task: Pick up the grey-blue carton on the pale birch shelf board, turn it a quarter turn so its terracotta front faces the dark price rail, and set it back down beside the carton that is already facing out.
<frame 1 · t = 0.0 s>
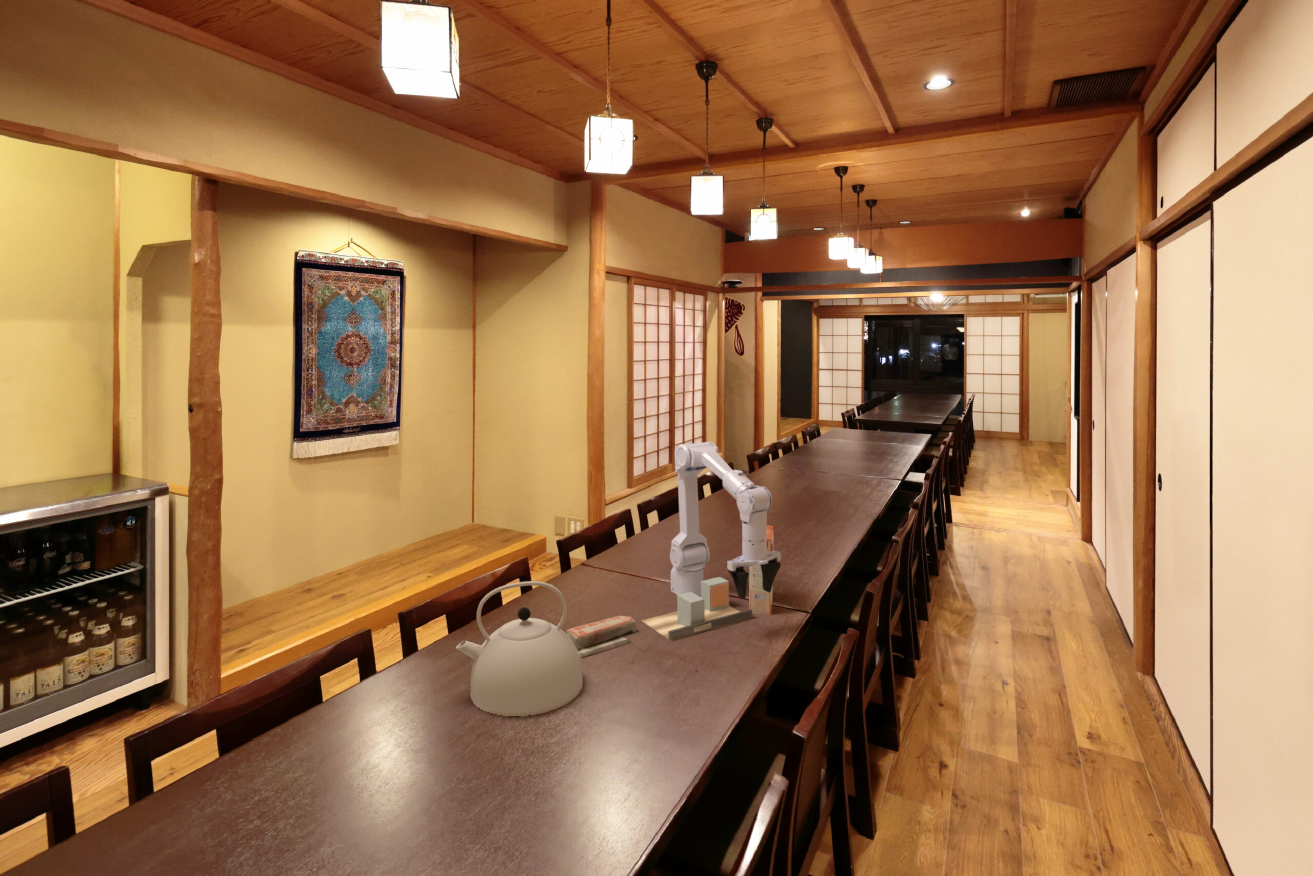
hand: (754, 594, 160), 10 cm above the table, tool pointing down, fingers open, 7 cm apart
faced carton: (728, 614, 171), point 1 cm above the table, touching shelf board
shelf board: (696, 623, 168), on the table
cracker box: (761, 608, 178), on the table
turn carton: (711, 619, 168), point 1 cm above the table, touching shelf board
packaged product: (603, 643, 160), on the table
kettle: (522, 689, 138), on the table
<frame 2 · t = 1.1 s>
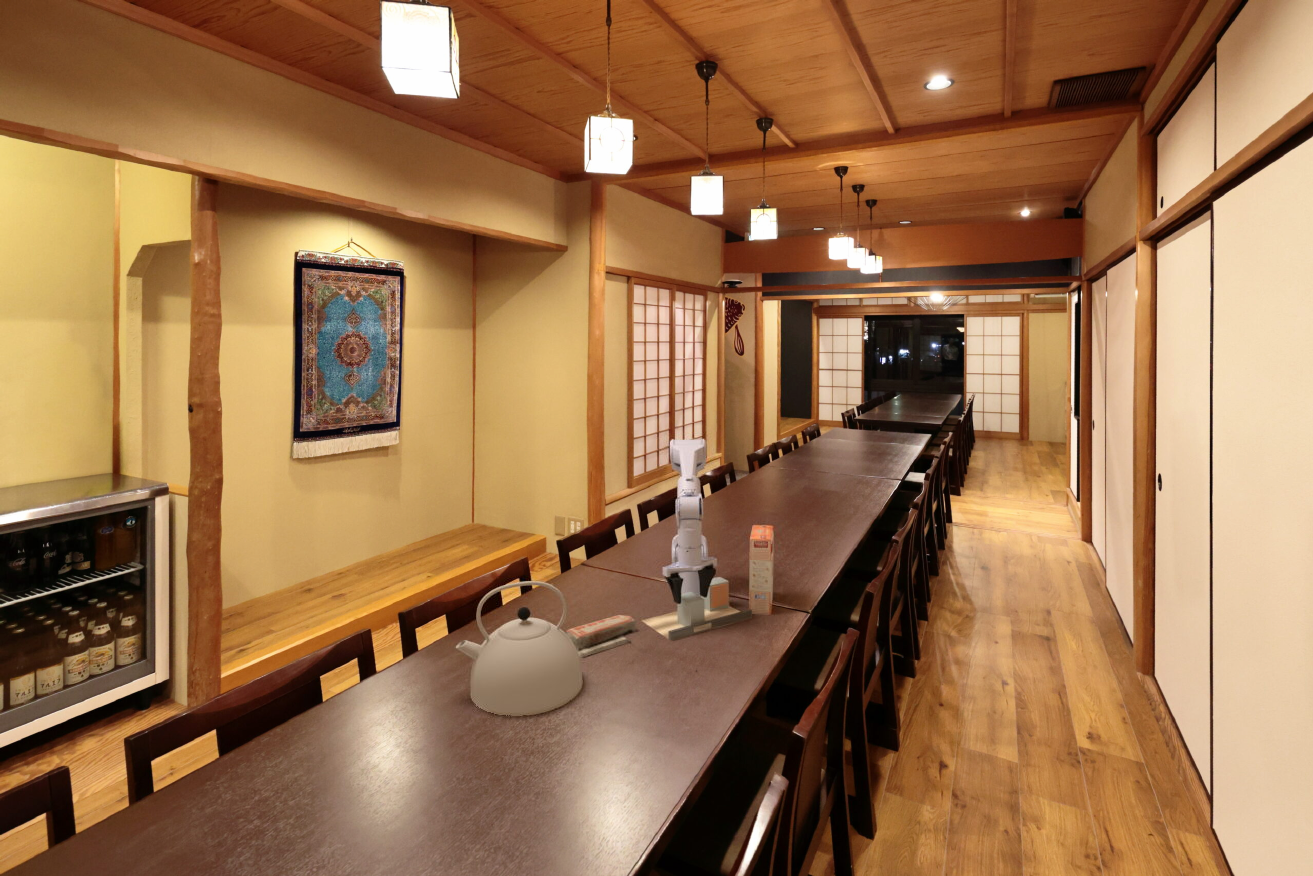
hand: (690, 599, 164), 8 cm above the table, tool pointing down, fingers open, 7 cm apart
nothing on the table moved.
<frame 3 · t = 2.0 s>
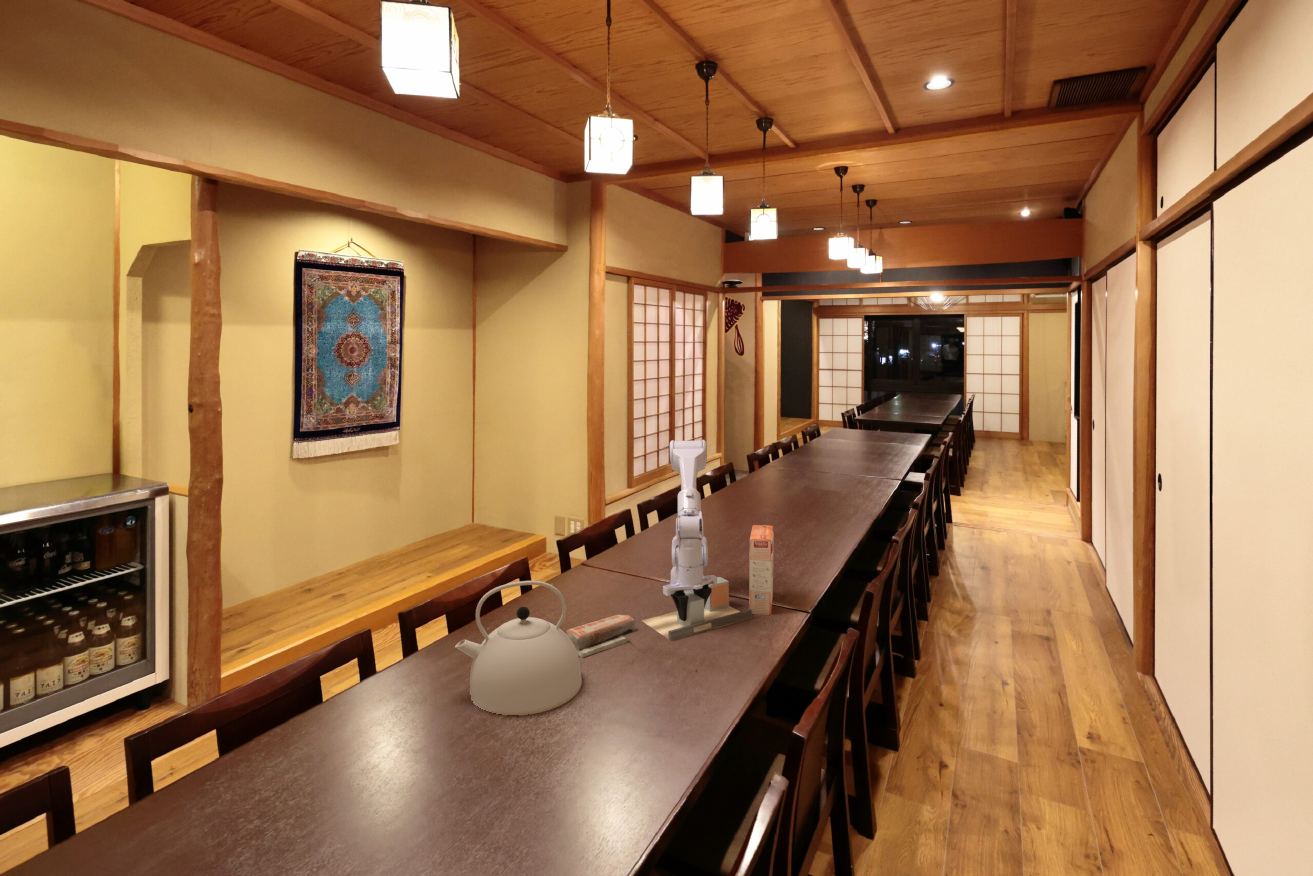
hand: (690, 617, 165), 3 cm above the table, tool pointing down, fingers closed on turn carton, 4 cm apart
turn carton: (710, 619, 168), point 1 cm above the table, touching gripper
everything else where it was.
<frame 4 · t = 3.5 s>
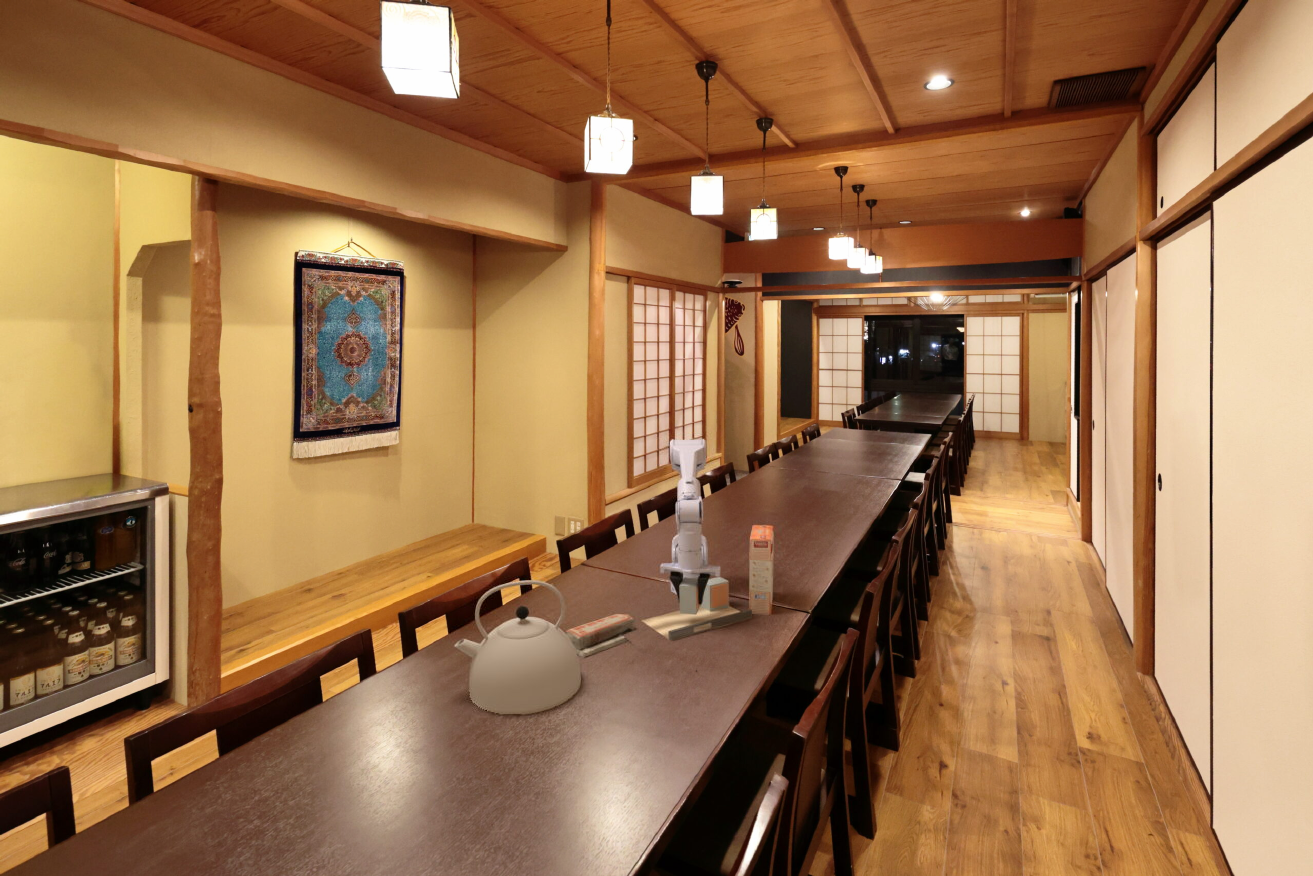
hand: (690, 602, 164), 7 cm above the table, tool pointing down, fingers closed on turn carton, 4 cm apart
turn carton: (714, 611, 163), point 5 cm above the table, touching gripper
everything else where it was.
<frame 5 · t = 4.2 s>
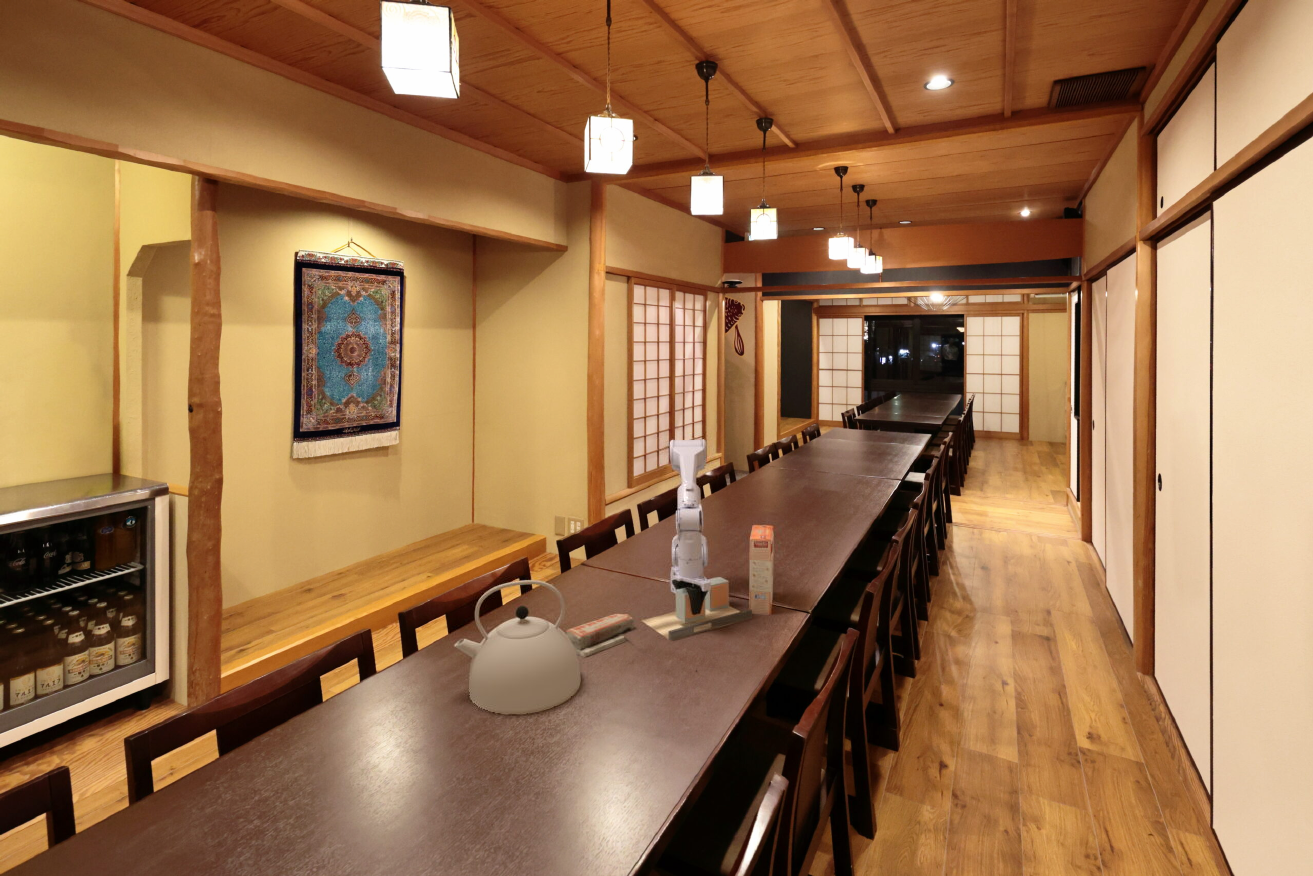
hand: (690, 610, 165), 5 cm above the table, tool pointing down, fingers closed on turn carton, 4 cm apart
turn carton: (704, 625, 160), point 3 cm above the table, touching gripper
everything else where it was.
when the fingers open (4 cm above the table, at t = 4.8 s): turn carton drops 1 cm, resting on shelf board.
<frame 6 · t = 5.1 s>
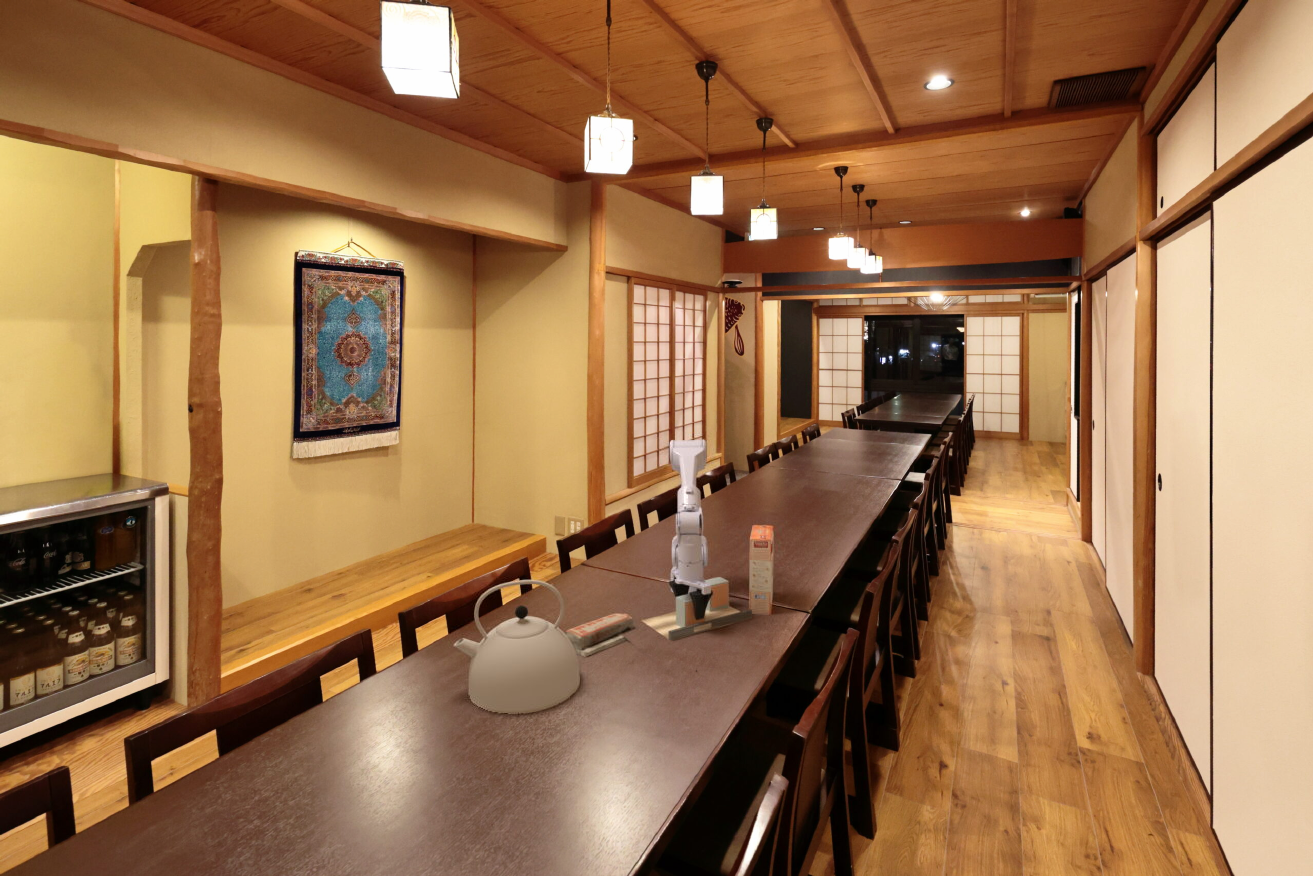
hand: (690, 613, 165), 4 cm above the table, tool pointing down, fingers open, 7 cm apart
turn carton: (704, 632, 160), point 1 cm above the table, touching shelf board
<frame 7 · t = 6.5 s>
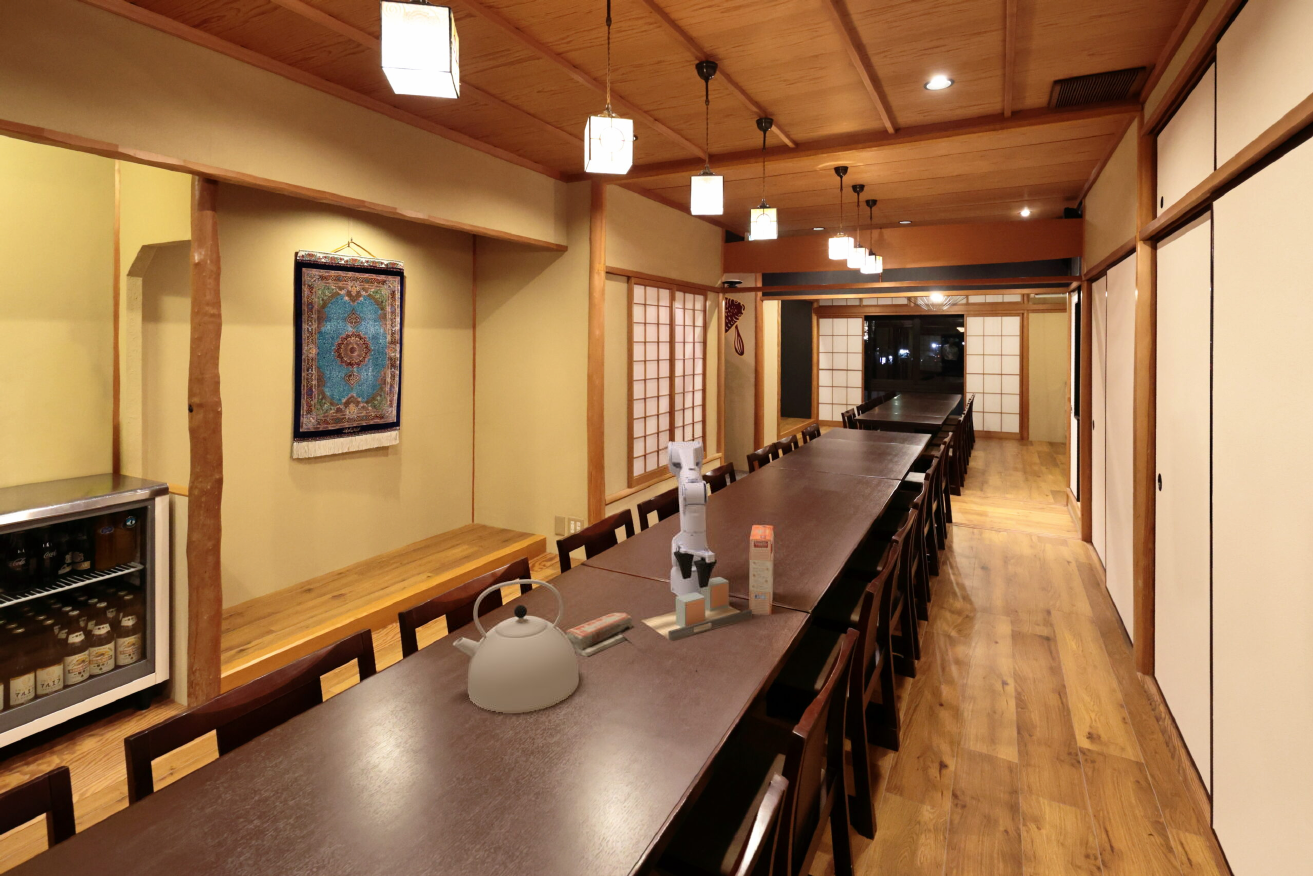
hand: (695, 582, 169), 10 cm above the table, tool pointing down, fingers open, 7 cm apart
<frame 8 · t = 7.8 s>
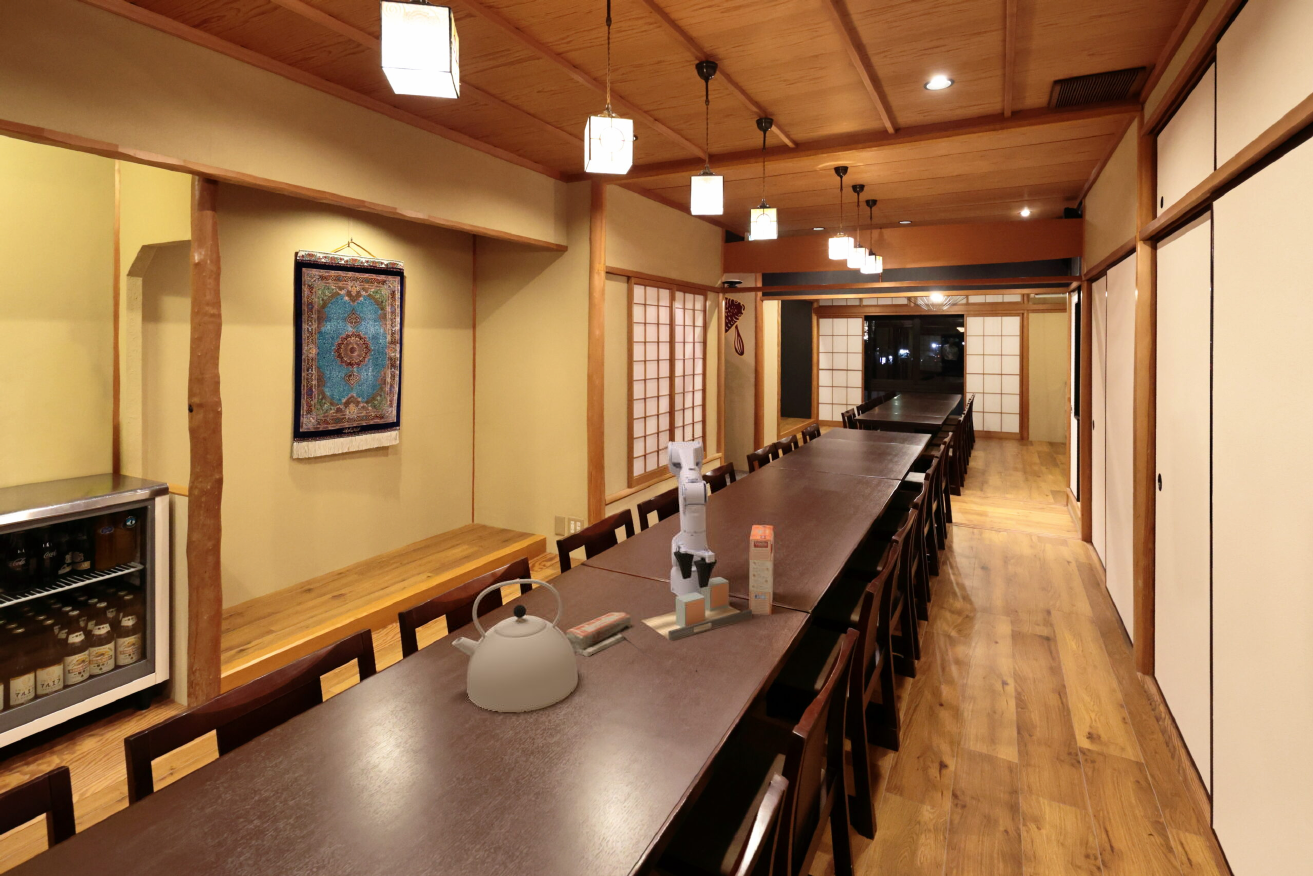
hand: (695, 582, 169), 10 cm above the table, tool pointing down, fingers open, 7 cm apart
at the end: turn carton 0.1 cm from the target spot, point 1.2 cm above the table; turn carton tilted 0°; the gripper is holding nothing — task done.
